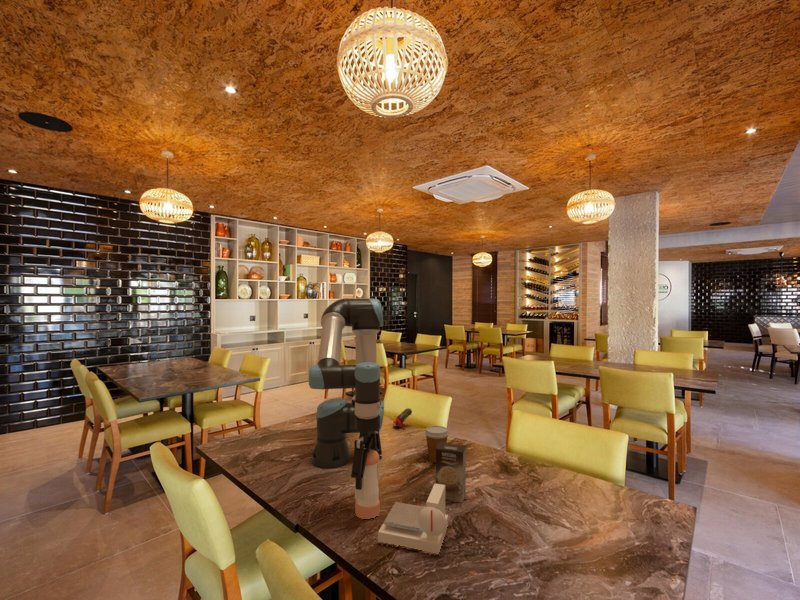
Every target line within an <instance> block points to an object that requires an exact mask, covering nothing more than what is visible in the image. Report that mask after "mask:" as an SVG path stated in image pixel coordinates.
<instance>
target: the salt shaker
mask: <svg viewBox="0 0 800 600" xmlns="http://www.w3.org/2000/svg"><path fill="white" fill-rule="evenodd" d="M378 460H379V461H380V459H379V454H378V453H377V451H375V450H372V449H370V452H369V453H368V454H367V460H366V465H365V470H364V475H363V476H365V500H364V501H363V500H357V499H355V503H354V505H355V506H354V507H355V509H354V514H356V515H355V517H356V516H357V517H359V518H363V519H370V518H374V519H376V518H377V517H376V516H378V517H379V515H380V512H381V510H380V509H381V506H380V505H381V504H380V503H381V502H380V498H379V497H380V496H379V495H380V493H379V491H380V489H379V482H378V481H377V462H378ZM357 517H356V518H357ZM375 517H376V518H375ZM359 518H358V519H359Z"/></svg>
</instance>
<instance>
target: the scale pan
mask: <svg viewBox="0 0 800 600" xmlns="http://www.w3.org/2000/svg"><path fill="white" fill-rule="evenodd" d="M425 507H426V506H423V505H422V506H421V505H416V504H410V503H405V502H404V503H403V502H398V501H395V502H394V504H393V505H392V507H391V509H390V511H389V512H388V514H387V516H386V518H385V519H384V521H383V523H384V525H389V526H394V527H399V528H404V529H409V530H414V531H420V532H421V530H422V529H421V527H420V525H419V522H418V517H419V514H420V512H421V510H422V509H424V508H425Z"/></svg>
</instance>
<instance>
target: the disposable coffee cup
mask: <svg viewBox="0 0 800 600" xmlns="http://www.w3.org/2000/svg"><path fill="white" fill-rule="evenodd" d="M424 435H425V438H426V446H427V453H428V461H429V462H432V463H436V448H437V445H438V444H439V442H447V443H448V436H449V431H448V429H447V428H446V427H445V426H441V425H430V426H428V427H426V429H425V431H424Z"/></svg>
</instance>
